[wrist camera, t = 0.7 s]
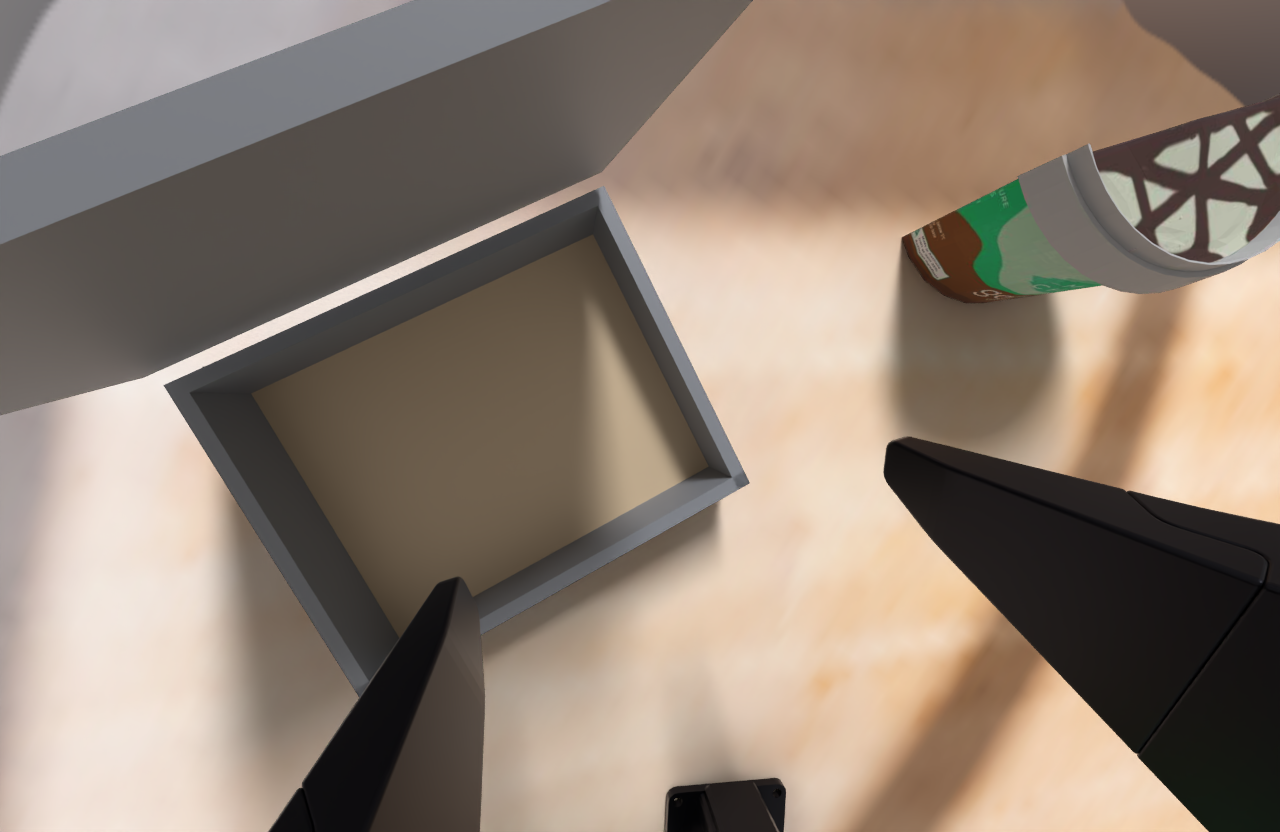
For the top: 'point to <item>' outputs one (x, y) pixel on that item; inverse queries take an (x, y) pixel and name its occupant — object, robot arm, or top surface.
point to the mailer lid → (314, 174)
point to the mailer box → (466, 431)
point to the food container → (1117, 215)
